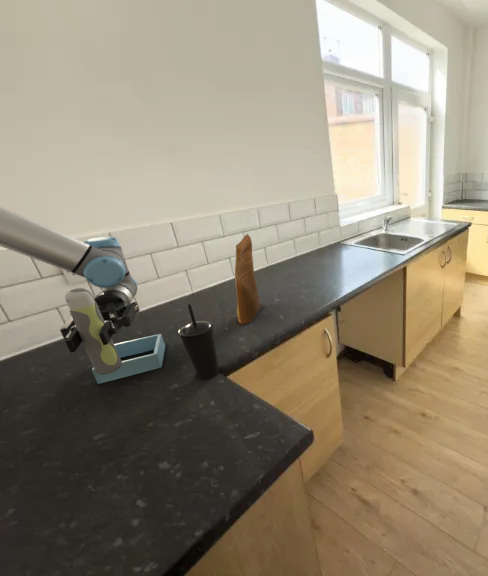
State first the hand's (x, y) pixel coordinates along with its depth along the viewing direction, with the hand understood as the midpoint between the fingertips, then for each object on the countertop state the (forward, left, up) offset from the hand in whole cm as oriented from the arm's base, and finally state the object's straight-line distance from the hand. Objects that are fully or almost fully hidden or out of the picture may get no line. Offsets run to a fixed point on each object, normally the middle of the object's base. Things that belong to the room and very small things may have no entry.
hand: (87, 342), depth 66 cm
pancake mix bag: (+34, +34, -18) cm, 51 cm away
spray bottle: (0, +5, -10) cm, 11 cm away
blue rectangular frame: (+1, +19, -17) cm, 26 cm away
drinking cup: (+19, +3, -17) cm, 26 cm away
